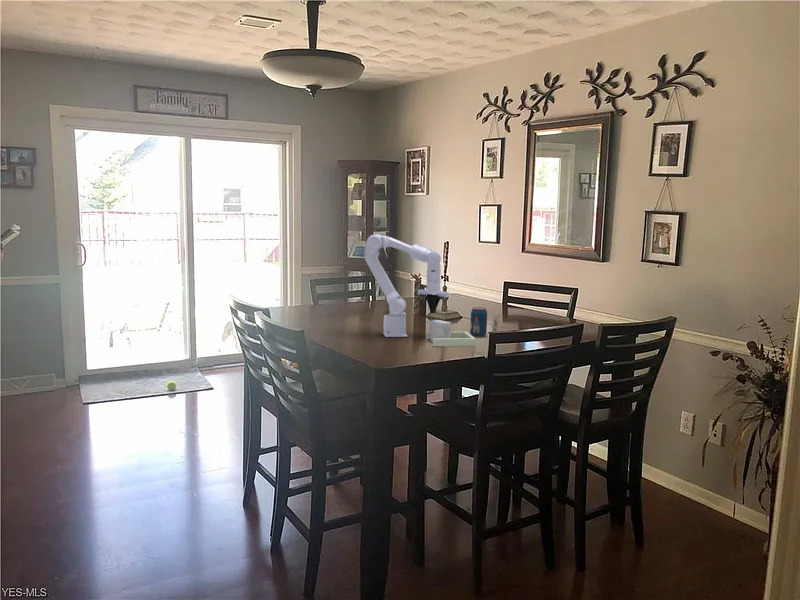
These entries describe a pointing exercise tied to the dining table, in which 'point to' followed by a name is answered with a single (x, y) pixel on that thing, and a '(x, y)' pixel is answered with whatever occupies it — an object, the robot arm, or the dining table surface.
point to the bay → (454, 340)
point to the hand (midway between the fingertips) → (432, 312)
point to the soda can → (478, 322)
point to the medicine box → (440, 329)
